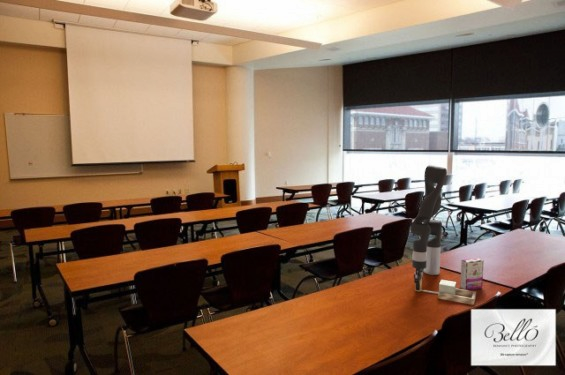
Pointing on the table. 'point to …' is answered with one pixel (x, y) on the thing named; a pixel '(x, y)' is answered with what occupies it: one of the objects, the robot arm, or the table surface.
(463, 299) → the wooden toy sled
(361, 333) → the table surface
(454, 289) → the tethered block
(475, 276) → the candy bar box
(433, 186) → the robot arm
